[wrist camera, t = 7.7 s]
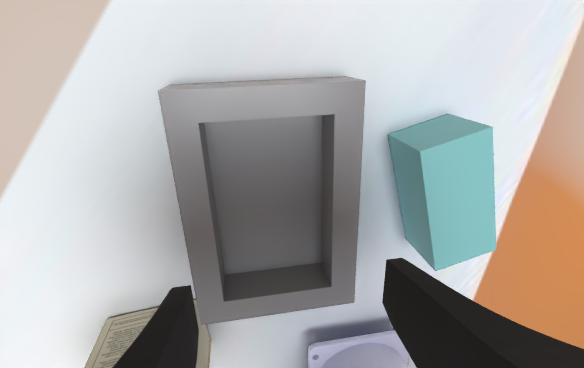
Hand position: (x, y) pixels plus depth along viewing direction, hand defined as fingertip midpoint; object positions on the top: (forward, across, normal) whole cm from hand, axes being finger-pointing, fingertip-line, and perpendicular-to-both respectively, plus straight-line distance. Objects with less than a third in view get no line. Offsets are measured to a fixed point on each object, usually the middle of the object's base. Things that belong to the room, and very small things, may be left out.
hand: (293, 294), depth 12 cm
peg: (+9, -10, 0) cm, 14 cm away
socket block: (+9, 0, 0) cm, 9 cm away
